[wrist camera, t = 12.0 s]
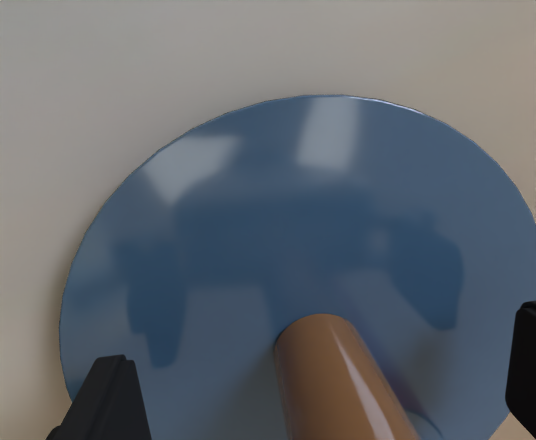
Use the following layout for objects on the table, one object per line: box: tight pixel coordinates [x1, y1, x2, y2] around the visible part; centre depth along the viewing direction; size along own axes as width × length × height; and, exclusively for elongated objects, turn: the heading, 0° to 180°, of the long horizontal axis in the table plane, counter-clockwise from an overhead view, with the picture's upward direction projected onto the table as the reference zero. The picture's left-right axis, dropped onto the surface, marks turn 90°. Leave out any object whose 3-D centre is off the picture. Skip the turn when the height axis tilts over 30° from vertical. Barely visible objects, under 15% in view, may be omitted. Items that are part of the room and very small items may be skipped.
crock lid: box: [59, 95, 536, 440], centre depth 9 cm, size 14×14×6 cm
